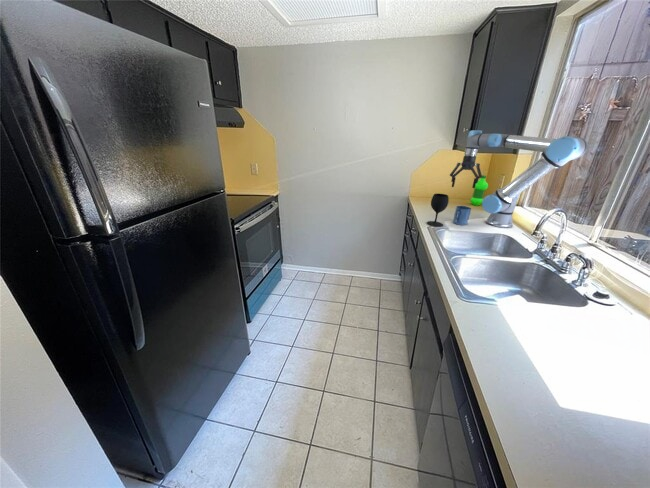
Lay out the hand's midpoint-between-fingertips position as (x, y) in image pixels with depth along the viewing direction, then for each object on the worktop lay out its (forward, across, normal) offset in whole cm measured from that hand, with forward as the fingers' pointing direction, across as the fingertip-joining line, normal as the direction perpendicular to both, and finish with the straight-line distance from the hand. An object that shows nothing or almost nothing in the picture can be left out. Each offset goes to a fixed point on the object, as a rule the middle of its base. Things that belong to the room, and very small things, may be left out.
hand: (462, 187), depth 180 cm
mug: (+23, +2, +13) cm, 26 cm away
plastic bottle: (+21, -27, -46) cm, 57 cm away
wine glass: (+23, +18, +19) cm, 35 cm away
